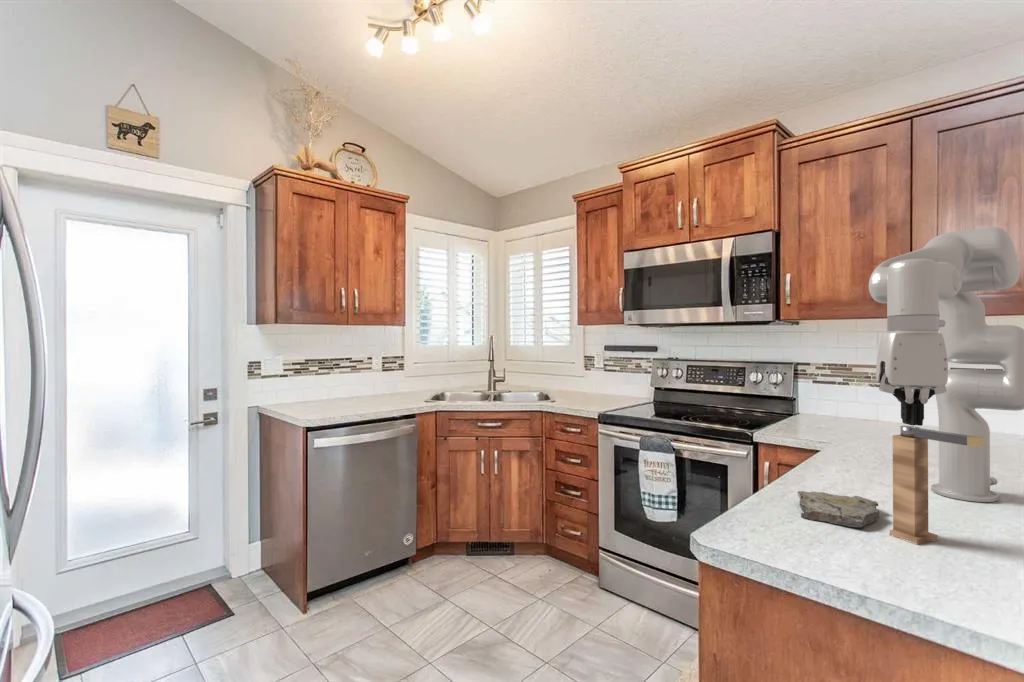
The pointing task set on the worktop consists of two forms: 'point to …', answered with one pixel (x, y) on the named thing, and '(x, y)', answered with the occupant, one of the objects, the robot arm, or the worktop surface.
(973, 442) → the latch bar
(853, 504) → the stone
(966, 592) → the worktop surface
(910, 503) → the post
